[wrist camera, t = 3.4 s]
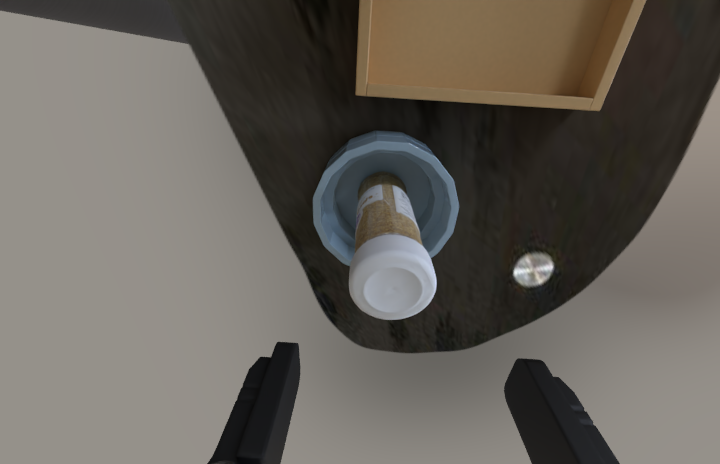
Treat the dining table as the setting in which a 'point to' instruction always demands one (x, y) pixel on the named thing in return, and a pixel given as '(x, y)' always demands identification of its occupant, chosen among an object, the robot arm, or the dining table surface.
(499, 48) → the tray
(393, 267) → the sprinkles bottle
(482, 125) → the dining table surface
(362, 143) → the bowl
